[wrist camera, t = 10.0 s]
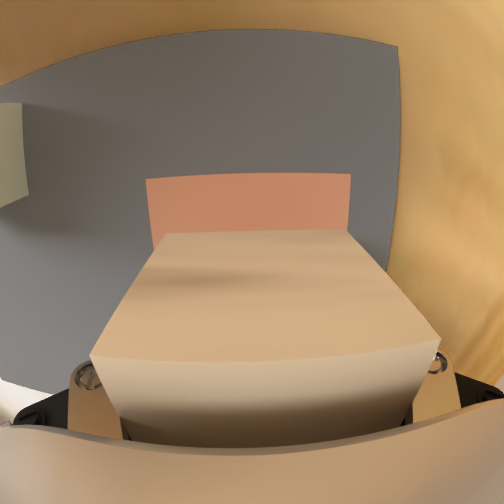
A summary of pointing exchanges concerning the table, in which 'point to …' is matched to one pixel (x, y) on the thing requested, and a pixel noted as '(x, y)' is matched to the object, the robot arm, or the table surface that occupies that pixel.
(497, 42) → the table surface
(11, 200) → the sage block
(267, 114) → the board
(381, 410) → the maple block
